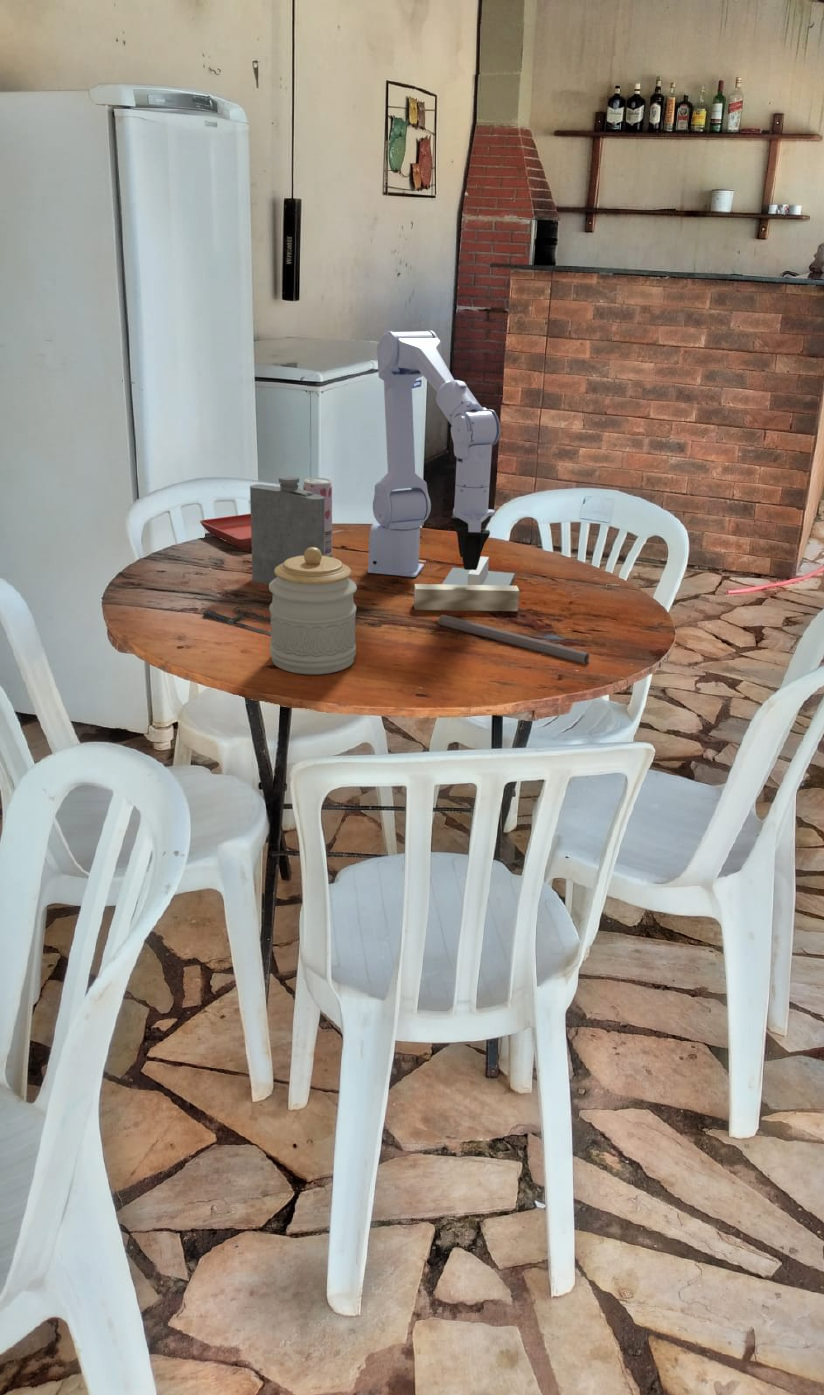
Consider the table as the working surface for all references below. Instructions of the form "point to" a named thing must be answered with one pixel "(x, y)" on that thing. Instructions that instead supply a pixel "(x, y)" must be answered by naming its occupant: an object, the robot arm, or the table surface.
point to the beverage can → (325, 489)
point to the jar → (312, 615)
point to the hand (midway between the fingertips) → (468, 562)
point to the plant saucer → (231, 529)
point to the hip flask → (283, 525)
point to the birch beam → (466, 597)
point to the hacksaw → (241, 614)
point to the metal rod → (514, 639)
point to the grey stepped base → (479, 576)
